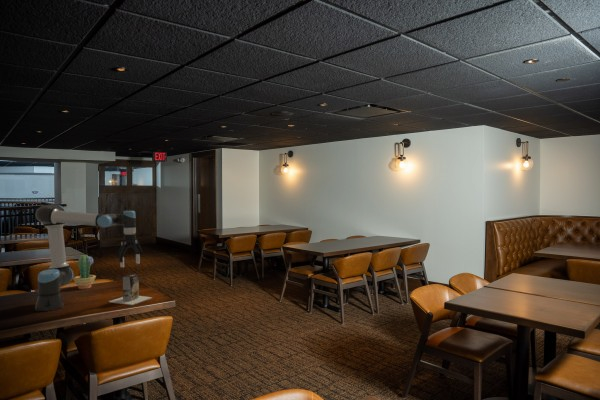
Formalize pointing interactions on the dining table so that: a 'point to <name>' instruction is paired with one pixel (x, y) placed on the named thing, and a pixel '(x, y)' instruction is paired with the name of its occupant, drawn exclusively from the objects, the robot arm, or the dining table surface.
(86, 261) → the potted cactus
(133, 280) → the coffee box
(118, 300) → the mat
